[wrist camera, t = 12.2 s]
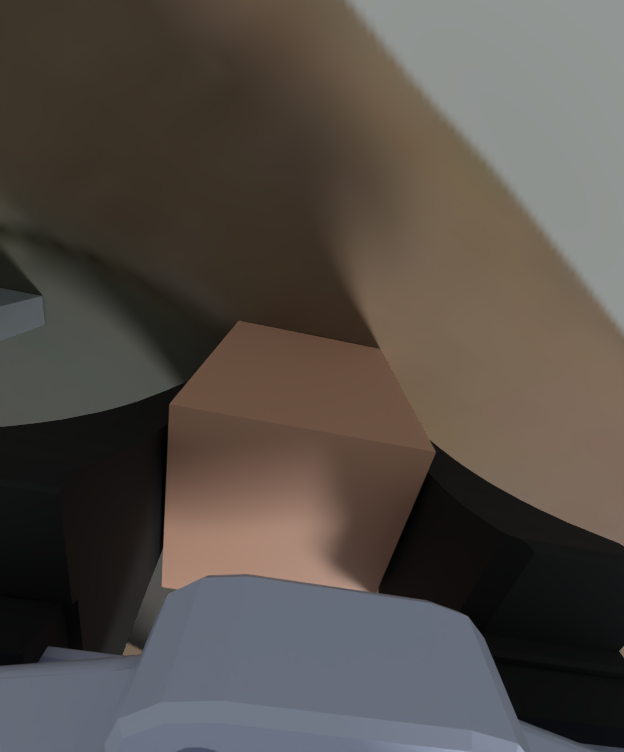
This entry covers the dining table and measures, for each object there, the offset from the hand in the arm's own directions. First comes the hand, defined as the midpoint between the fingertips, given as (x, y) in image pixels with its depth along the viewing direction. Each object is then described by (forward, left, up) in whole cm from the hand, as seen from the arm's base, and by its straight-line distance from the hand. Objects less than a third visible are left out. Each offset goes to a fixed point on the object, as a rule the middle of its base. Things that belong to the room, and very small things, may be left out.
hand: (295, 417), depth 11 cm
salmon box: (0, 0, -1) cm, 1 cm away
